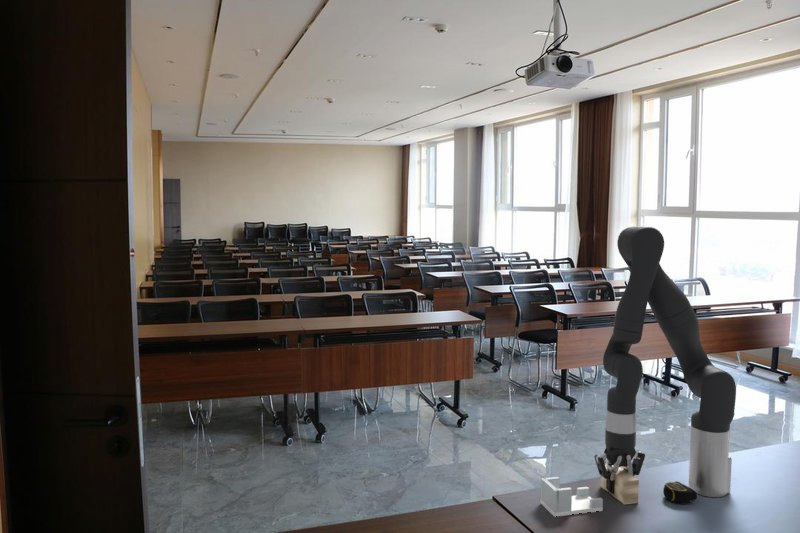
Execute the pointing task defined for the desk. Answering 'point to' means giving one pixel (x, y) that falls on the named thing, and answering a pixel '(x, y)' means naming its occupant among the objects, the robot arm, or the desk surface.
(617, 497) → the beech rail
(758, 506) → the desk surface
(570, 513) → the bracket board
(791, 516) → the desk surface
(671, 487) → the tape measure
